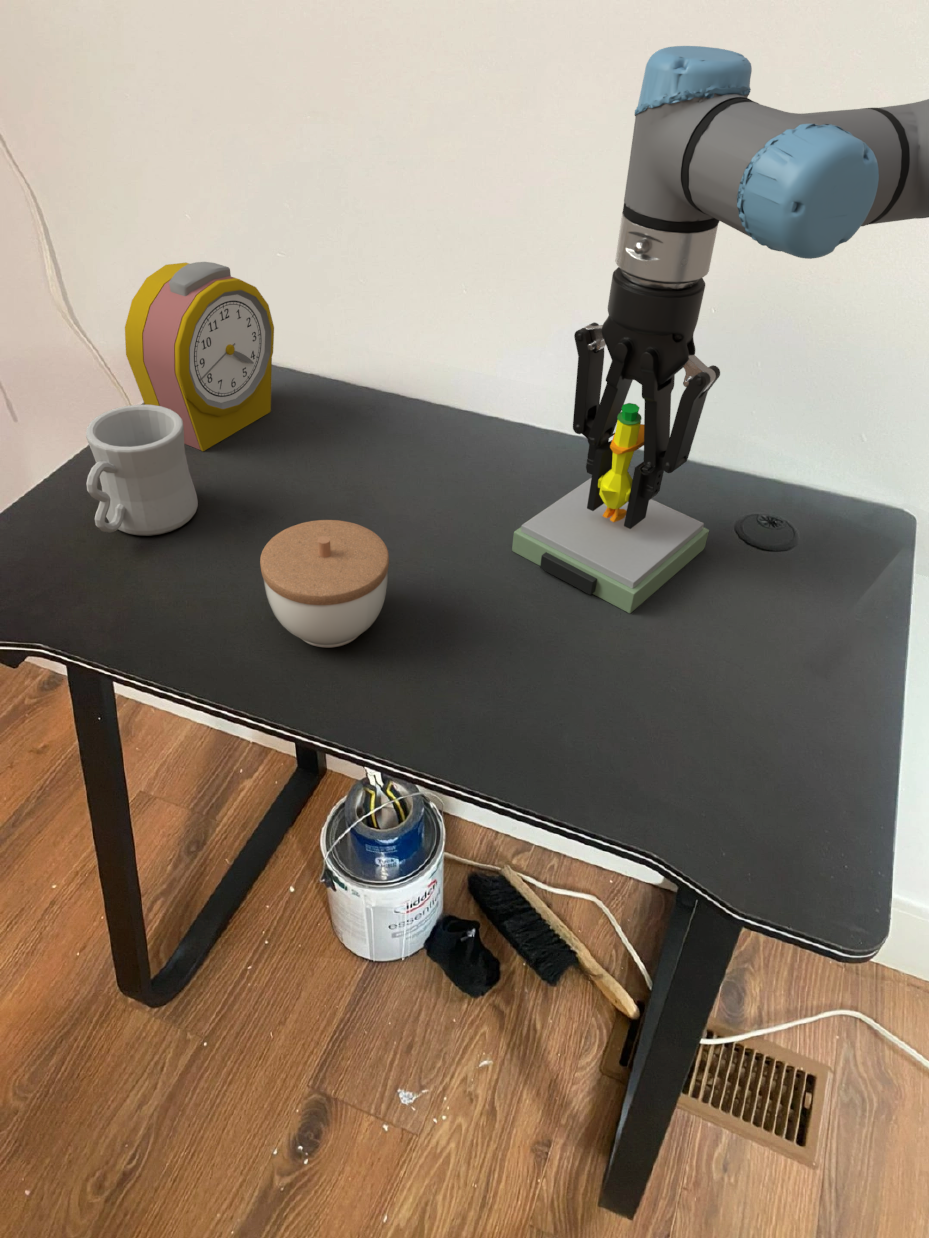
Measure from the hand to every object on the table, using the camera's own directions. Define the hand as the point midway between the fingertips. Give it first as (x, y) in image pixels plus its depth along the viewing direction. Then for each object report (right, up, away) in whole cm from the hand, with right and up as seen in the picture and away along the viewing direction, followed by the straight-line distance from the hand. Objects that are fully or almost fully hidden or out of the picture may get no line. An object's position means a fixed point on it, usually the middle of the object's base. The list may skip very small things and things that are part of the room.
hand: (616, 512), depth 90 cm
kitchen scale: (0, -3, +3) cm, 5 cm away
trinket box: (-27, -11, -7) cm, 30 cm away
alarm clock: (-44, +13, +19) cm, 50 cm away
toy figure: (0, 0, 0) cm, 0 cm away
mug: (-47, -1, +3) cm, 47 cm away
